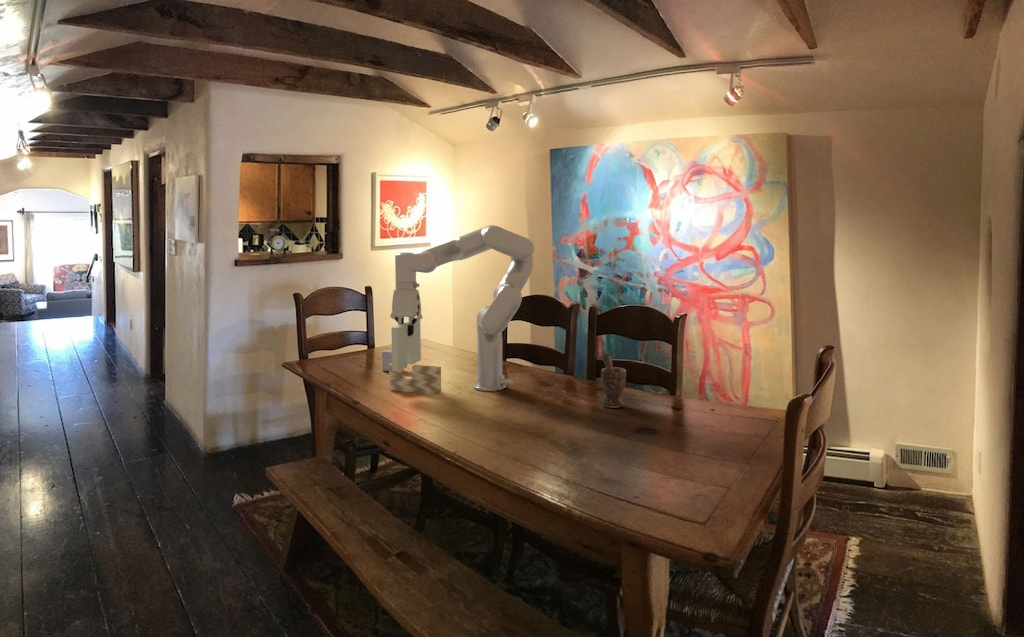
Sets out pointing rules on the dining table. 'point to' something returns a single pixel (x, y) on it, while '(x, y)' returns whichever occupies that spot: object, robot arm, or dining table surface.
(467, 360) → the dining table surface
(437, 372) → the maple board
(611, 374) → the mortar and pestle
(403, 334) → the sage plate
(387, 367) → the medicine box
